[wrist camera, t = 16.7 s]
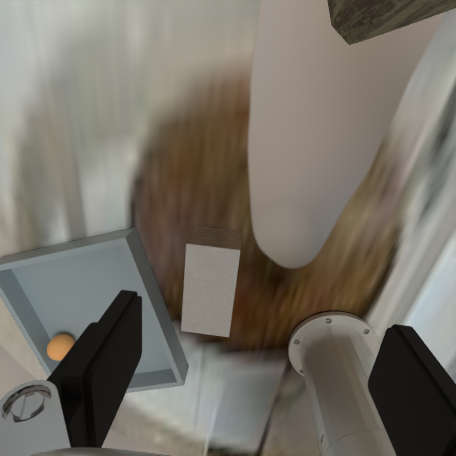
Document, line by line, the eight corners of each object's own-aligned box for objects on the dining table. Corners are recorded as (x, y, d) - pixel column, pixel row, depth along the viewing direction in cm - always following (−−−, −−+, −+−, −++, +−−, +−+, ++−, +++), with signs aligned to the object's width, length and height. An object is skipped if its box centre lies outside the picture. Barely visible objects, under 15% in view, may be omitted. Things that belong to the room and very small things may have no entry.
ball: (69, 325, 45) (60, 342, 41) (82, 342, 46) (75, 359, 43) (47, 335, 45) (36, 352, 41) (61, 351, 46) (52, 370, 43)
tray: (188, 366, 47) (184, 385, 44) (75, 382, 50) (62, 401, 47) (135, 227, 39) (125, 237, 36) (4, 256, 42) (-17, 268, 39)
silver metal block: (231, 307, 43) (228, 337, 37) (190, 302, 43) (181, 331, 37) (241, 230, 38) (240, 250, 33) (195, 224, 38) (186, 243, 33)
